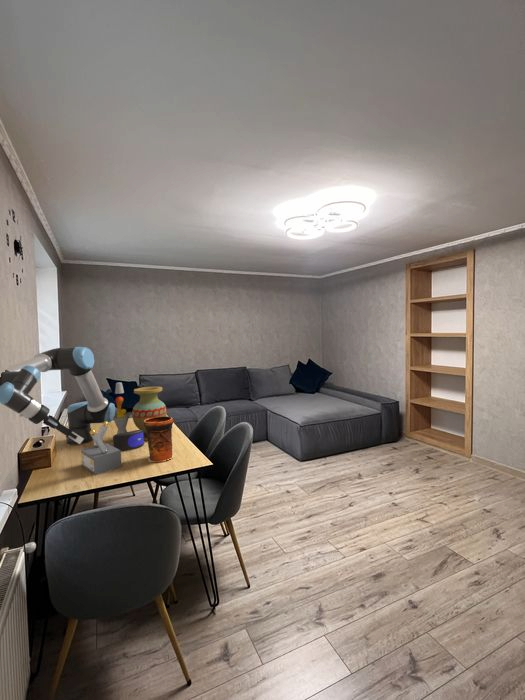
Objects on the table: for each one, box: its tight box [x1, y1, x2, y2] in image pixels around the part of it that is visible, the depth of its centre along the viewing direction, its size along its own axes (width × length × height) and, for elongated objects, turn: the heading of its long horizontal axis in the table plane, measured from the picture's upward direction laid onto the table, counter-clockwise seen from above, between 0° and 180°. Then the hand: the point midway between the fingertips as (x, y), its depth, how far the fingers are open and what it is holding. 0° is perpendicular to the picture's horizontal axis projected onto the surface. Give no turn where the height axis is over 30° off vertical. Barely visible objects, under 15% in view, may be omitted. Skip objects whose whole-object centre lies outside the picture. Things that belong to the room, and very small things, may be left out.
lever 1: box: [93, 421, 109, 447], centre depth 171 cm, size 3×2×13 cm
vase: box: [131, 386, 167, 442], centre depth 208 cm, size 20×20×30 cm
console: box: [80, 443, 123, 476], centre depth 165 cm, size 17×13×8 cm
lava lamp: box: [113, 382, 130, 434], centre depth 203 cm, size 9×9×35 cm
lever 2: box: [90, 429, 107, 453], centre depth 158 cm, size 3×2×13 cm
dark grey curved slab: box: [112, 429, 145, 452], centre depth 189 cm, size 16×5×9 cm, turn 127°
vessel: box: [144, 416, 175, 463], centre depth 173 cm, size 14×14×20 cm
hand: (81, 441), depth 153 cm, fingers closed
